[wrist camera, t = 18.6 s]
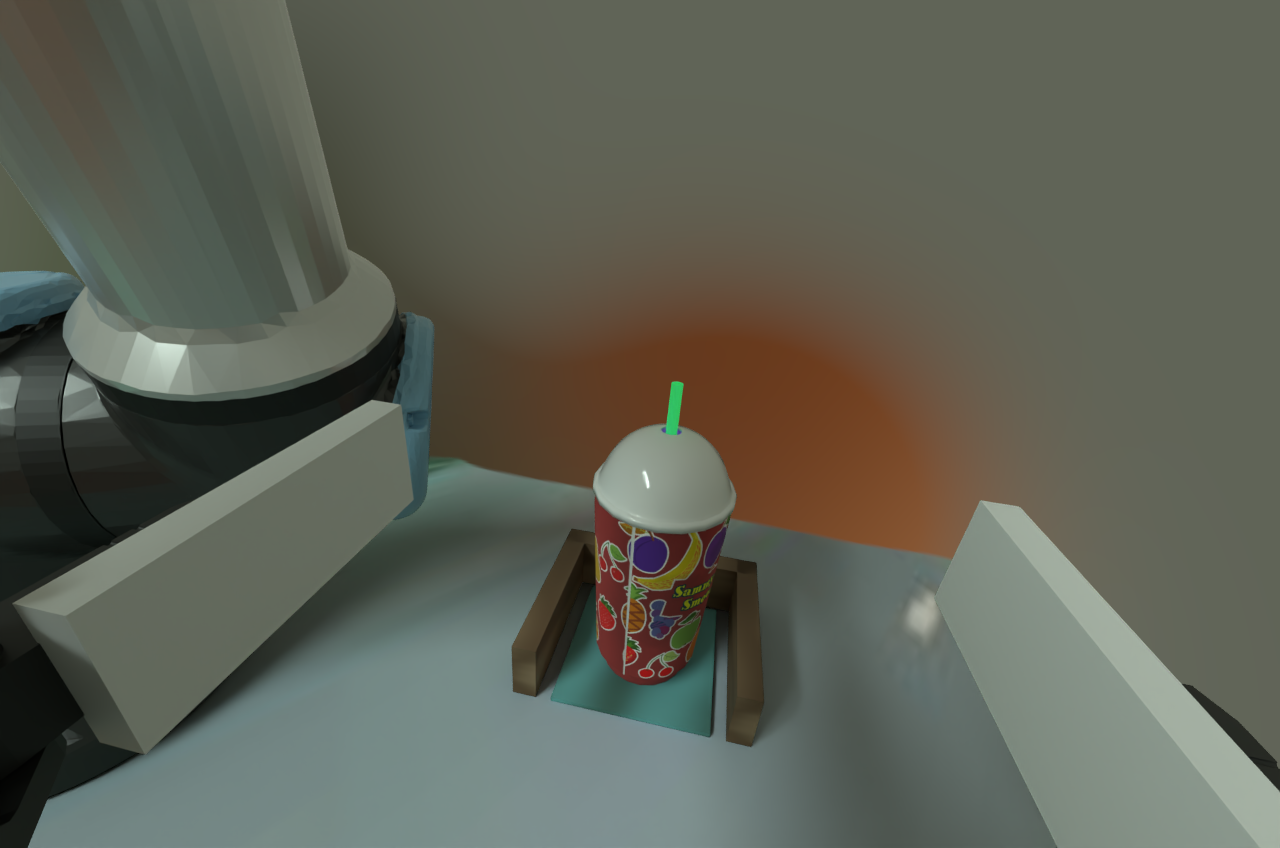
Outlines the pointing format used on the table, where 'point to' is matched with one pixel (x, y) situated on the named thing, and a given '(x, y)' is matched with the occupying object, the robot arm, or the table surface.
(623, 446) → the smoothie
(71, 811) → the table surface
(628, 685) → the holder
